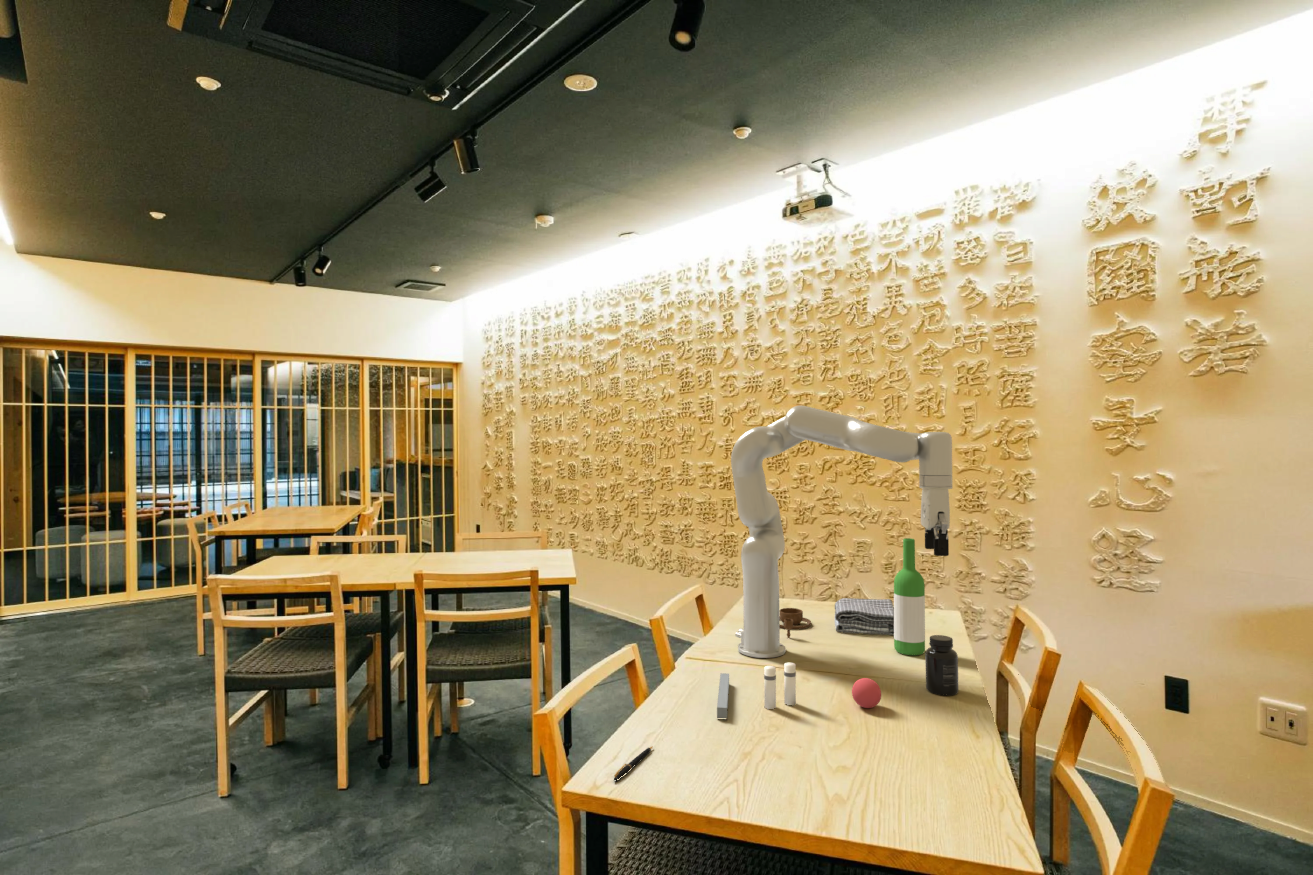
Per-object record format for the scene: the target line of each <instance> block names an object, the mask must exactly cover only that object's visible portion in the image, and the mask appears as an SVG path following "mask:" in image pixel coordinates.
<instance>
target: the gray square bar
mask: <svg viewBox="0 0 1313 875" xmlns="http://www.w3.org/2000/svg"><path fill="white" fill-rule="evenodd" d="M719 675H720V676H719V685H718V694H717V704H716V719H717V718H727V719H728V711H727V709H728V710H729V695H730V693H729V692H730V673H722V672H721V673H720V674H719ZM728 694H729V695H728Z"/></svg>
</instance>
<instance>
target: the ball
mask: <svg viewBox="0 0 1313 875" xmlns="http://www.w3.org/2000/svg"><path fill="white" fill-rule="evenodd" d="M851 696H852V698H853V700H854V702H855V703H856V704H857V706H860V707H862V708H865V709H872V708H874V707H876V706H877V705H878V704H879V703H880V701H881V699H882V690H881V688H880V685H879V684H878V683H877V682H876V681H875V680H873V679H871V678H868V677H863V678H860V679H857V680H856V681H855V682H854V683H853V685H852V689H851Z"/></svg>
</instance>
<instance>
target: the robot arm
mask: <svg viewBox="0 0 1313 875" xmlns="http://www.w3.org/2000/svg"><path fill="white" fill-rule="evenodd" d="M952 438H953V437H952V435H951V433H949V432H946V431H927V432H922V433H921V432H919V433H918V432H912V431H911V432H910V431H904V430H903V431H902V430H898V429H893V428H889V427H885V426H881V425H877V424H873V423H869V422H866V421H863V420H861V419H858V418H856V417H853V416H849V415H844V414H841V413H836V412H832V411H827V410H823V409H819V408H815V407H810V406H806V405H795V406H793V407H791V408H790V409H789V410H787V413H786V414H785V416H784V417H782V418H780V419H778V420H776V421H774V422H772V423H771V424H768V425H767V426H755V427H753V428H751V429H748V430H747V431H745V432H744V433H743V434H742V435H740V437H738V439H737V440H736V442H735V444H733V445H734V446H733V448H732V450H731V455H730V456H731V457H730V467H731V472H732V473H731V474H732V478H733V487H734V488H733V489H734V492H735V493H734V494H735V499H736V500H735V501H736V506H737V507H736V508H737V514H738V518H739V520H740V522H741V523H742V524H743V525H744V526H745V527H747V528H748V532H749V535H748V537H747V538H746V539H745V541H744V542H743V544H742V547H741V550H740V551H741V554H740V559H741V560H740V561H741V569H742V581H743V582H742V583H743V584H742V586H743V587H742V593H743V628H742V627H740V628H739V629H738V631H736V632H735V637H736V638H739V639H740V643H739V644H738V645H737V651H738V652H739V654H742V655H743V656H747V657H752V658H757V659H758V658H759V659H765V658H766V659H770V658H771V659H772V658H778V657H781V656H782V655H785V654H786V651H787V650H786V648H787V647H786V646H785V645H784V644H783V643H780V640H781V639H780V630H781V628H780V627H779V624H780V620H779V616H780V576H779V574H780V573H779V562H778V561H779V559H780V558H781V557H782V556H783V555H784V551H785V548H786V547H785V546H786V543H785V536H784V529H783V524H782V517H781V512H780V507H779V504H778V500H777V499H776V498H775V496H774V495H773V494H772V493H771V492H768V488H767V481H766V476H765V471H764V468H763V461H764V460H765V459H767V458H772V457H775V456H778V455H780V454H782V453H784V452H785V451H787V450H789V449H791V448H793V447H794V446H797V445H798V444H801V443H802V442H804V441H806V440H807V441H810V442H814V443H818V444H822V445H826V446H829V447H833V448H837V449H840V450H845V451H847V452H848V451H849V452H857V453H860V454H863V455H864V454H865V455H869V456H872V457H877V458H880V459H883V460H886V461H887V460H888V461H892V462H894V463H895V462H896V463H907V462H910V461H915V460H918V461H919V462H918V464H919V465H918V471H919V473H918V474H919V476H918V480H919V487H918V488H919V489H922V490H921V502H920V503H921V504H920V525H921V526H922V527H924V548H925V549H926V550H933V554H934V556H936V557H948V556H949V554H950V553H949V547H950V546H949V529H950V523H951V521H950V520H951V516H950V515H951V514H950V513H951V512H950V510H951V509H950V508H951V507H950V494H949V493H950V492H949V490H952V489H953V439H952Z"/></svg>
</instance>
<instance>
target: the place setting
mask: <svg viewBox="0 0 1313 875" xmlns="http://www.w3.org/2000/svg"><path fill="white" fill-rule="evenodd" d="M803 614H804V611H803V610H802V609H799V608H794V607H783V608H781V609H780V608H779V621H780V622H781V623H783V624H780V623H779V627H780V629H784V630H786V632H787V633H786V636H787V637H786V639H788V638H790V639H791V629H799V630H804V629H808V628H810V627H811V625H812V620H811V619H809V618H806V617H804V616H803ZM801 622H804V623H806V622H807V623H806V624H804V625H799V624H801ZM796 625H797V626H796Z"/></svg>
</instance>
